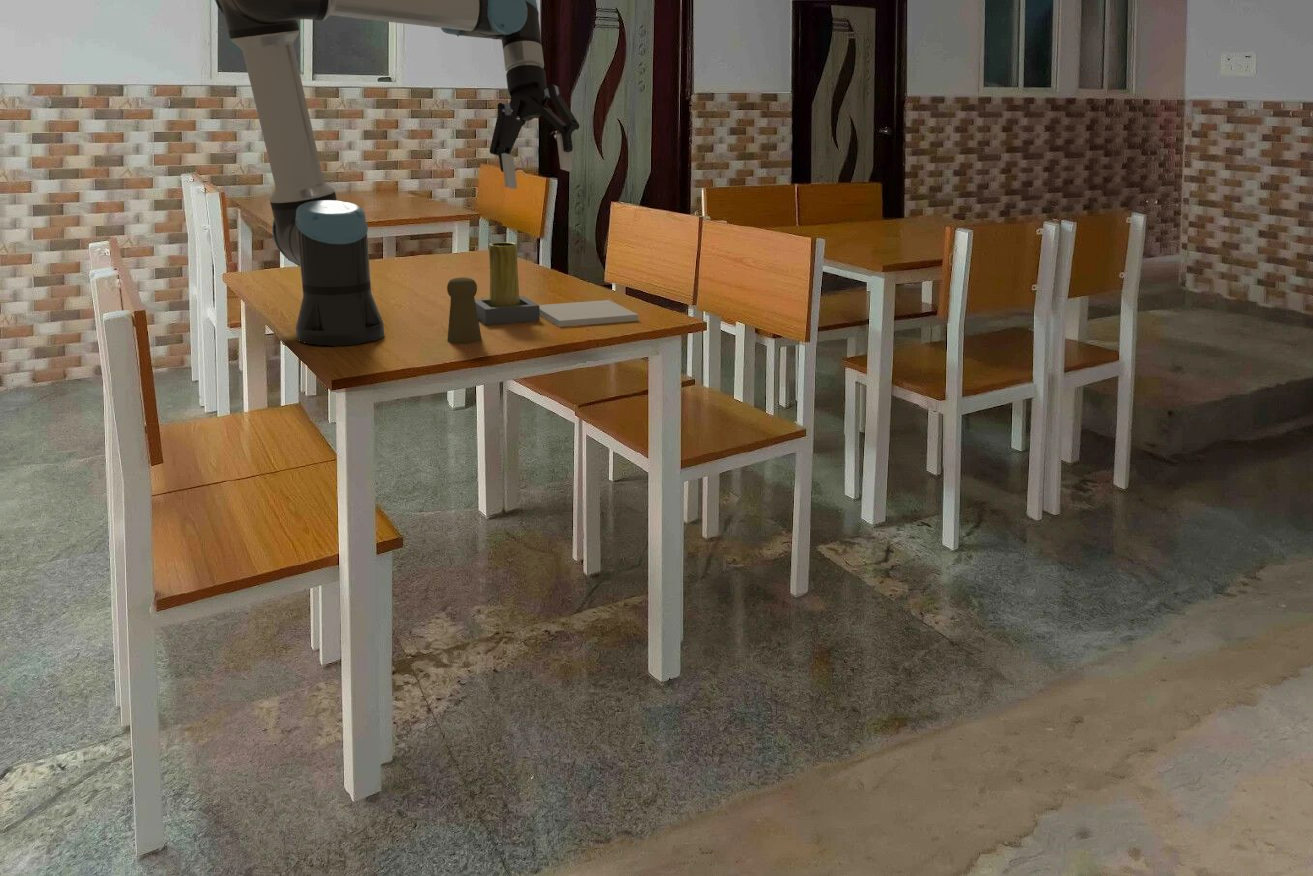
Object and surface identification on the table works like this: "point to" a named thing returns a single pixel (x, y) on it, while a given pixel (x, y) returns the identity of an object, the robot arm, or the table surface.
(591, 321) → the board
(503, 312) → the collar
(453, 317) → the olive brown pawn
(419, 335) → the table surface
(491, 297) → the vase
